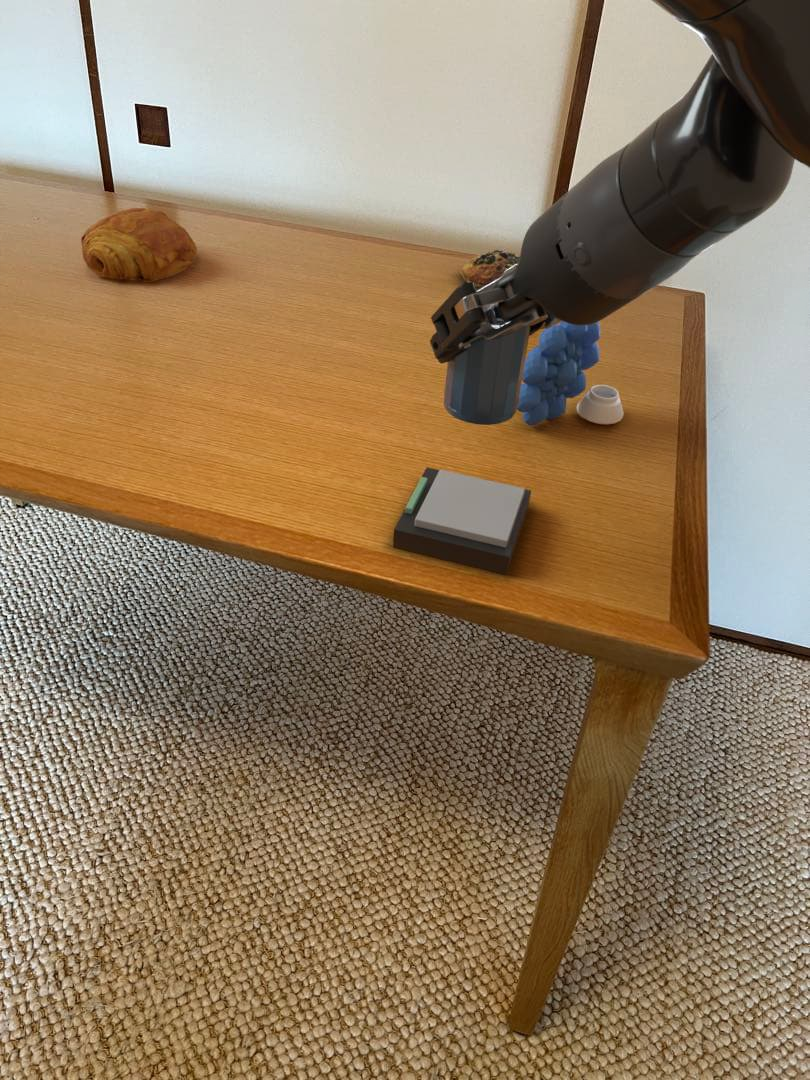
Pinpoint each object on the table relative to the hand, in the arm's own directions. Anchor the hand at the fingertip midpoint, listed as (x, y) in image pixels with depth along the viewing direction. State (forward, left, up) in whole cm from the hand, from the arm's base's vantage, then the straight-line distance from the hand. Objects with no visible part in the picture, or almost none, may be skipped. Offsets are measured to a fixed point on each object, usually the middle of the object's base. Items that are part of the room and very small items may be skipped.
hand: (473, 341), depth 63 cm
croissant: (-17, +66, -17) cm, 71 cm away
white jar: (+23, +11, -17) cm, 31 cm away
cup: (0, -2, -5) cm, 5 cm away
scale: (0, -2, -17) cm, 17 cm away
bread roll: (+30, +48, -17) cm, 60 cm away
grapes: (+17, +13, -17) cm, 28 cm away
